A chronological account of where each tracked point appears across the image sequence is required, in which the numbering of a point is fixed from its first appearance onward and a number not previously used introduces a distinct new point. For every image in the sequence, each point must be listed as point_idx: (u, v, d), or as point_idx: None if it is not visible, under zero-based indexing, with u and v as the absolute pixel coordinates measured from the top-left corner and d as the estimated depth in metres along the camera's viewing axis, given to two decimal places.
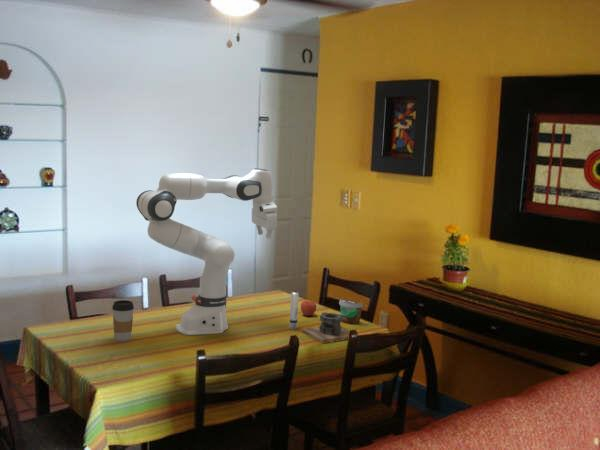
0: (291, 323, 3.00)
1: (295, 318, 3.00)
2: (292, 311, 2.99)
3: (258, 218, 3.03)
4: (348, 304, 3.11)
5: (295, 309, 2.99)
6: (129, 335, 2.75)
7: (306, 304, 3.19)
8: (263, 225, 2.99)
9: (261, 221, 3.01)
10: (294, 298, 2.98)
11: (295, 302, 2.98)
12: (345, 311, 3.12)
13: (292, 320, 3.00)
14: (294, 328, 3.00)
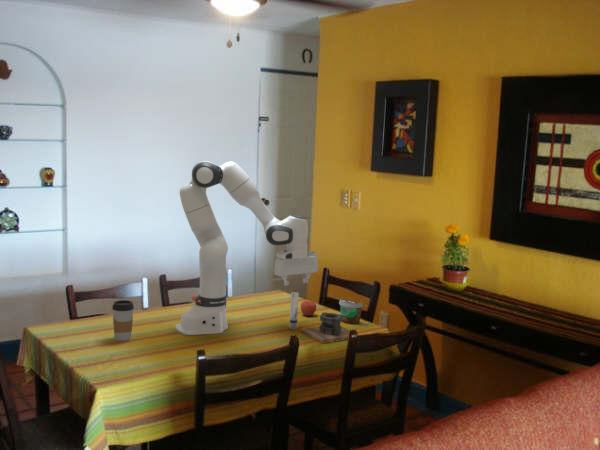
0: (291, 323, 3.00)
1: (295, 318, 3.00)
2: (292, 311, 2.99)
3: None
4: (348, 304, 3.11)
5: (295, 309, 2.99)
6: (129, 335, 2.75)
7: (306, 304, 3.19)
8: None
9: None
10: (294, 298, 2.98)
11: (295, 302, 2.98)
12: (345, 311, 3.13)
13: (292, 320, 3.00)
14: (294, 328, 3.00)
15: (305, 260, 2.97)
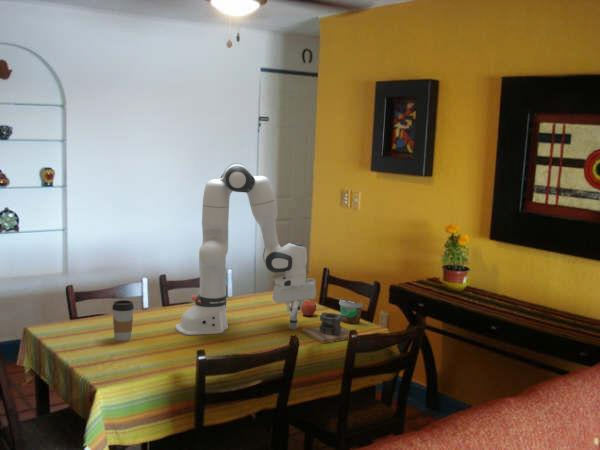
0: (291, 323, 3.00)
1: (295, 318, 3.00)
2: (292, 311, 2.99)
3: None
4: (348, 304, 3.11)
5: (295, 309, 2.99)
6: (129, 335, 2.75)
7: (306, 304, 3.19)
8: None
9: None
10: None
11: (295, 302, 2.98)
12: (345, 311, 3.13)
13: (292, 320, 3.00)
14: (294, 328, 3.00)
15: (303, 287, 2.99)
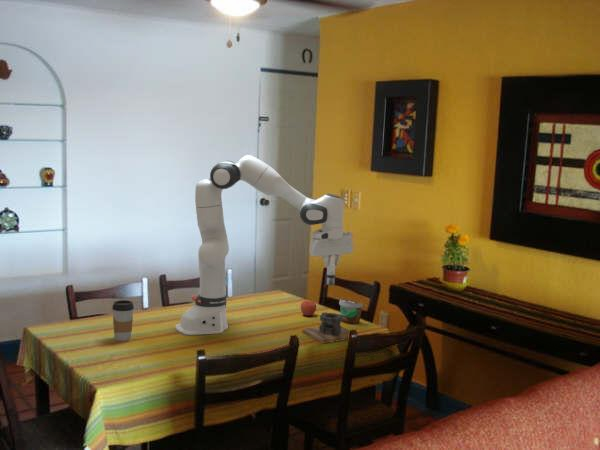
0: (329, 278, 2.91)
1: (332, 273, 2.90)
2: (329, 266, 2.90)
3: None
4: (348, 304, 3.11)
5: (332, 263, 2.90)
6: (129, 335, 2.75)
7: (306, 304, 3.19)
8: None
9: None
10: None
11: (332, 256, 2.89)
12: (345, 311, 3.12)
13: (329, 275, 2.90)
14: (332, 283, 2.91)
15: (340, 240, 2.90)
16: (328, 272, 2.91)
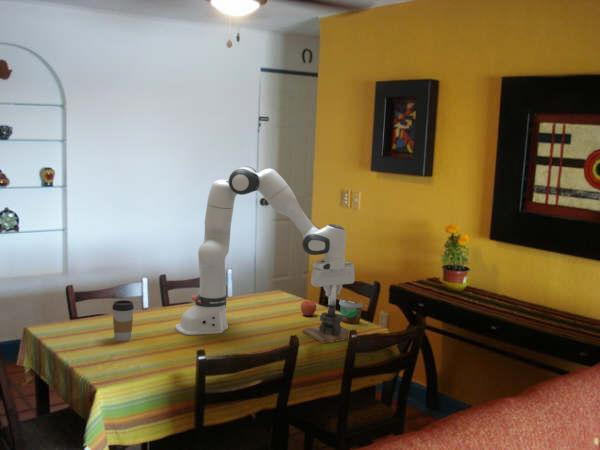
0: (330, 308, 2.92)
1: (334, 303, 2.92)
2: (331, 296, 2.91)
3: None
4: (348, 304, 3.11)
5: (334, 293, 2.91)
6: (129, 335, 2.75)
7: (306, 304, 3.19)
8: None
9: None
10: None
11: (334, 286, 2.90)
12: (345, 311, 3.12)
13: (331, 305, 2.91)
14: (332, 313, 2.92)
15: (342, 271, 2.91)
16: (329, 302, 2.92)
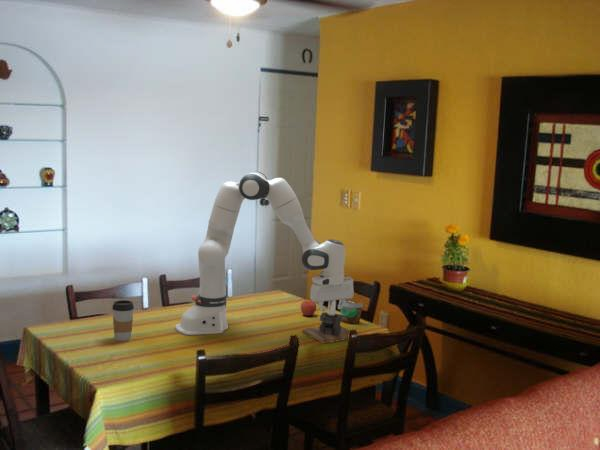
0: (329, 326, 2.93)
1: None
2: (330, 313, 2.92)
3: None
4: (348, 304, 3.11)
5: (333, 311, 2.92)
6: (129, 335, 2.75)
7: (306, 304, 3.19)
8: None
9: None
10: (332, 300, 2.92)
11: (333, 304, 2.92)
12: (345, 311, 3.13)
13: (329, 323, 2.93)
14: None
15: (341, 286, 2.92)
16: None
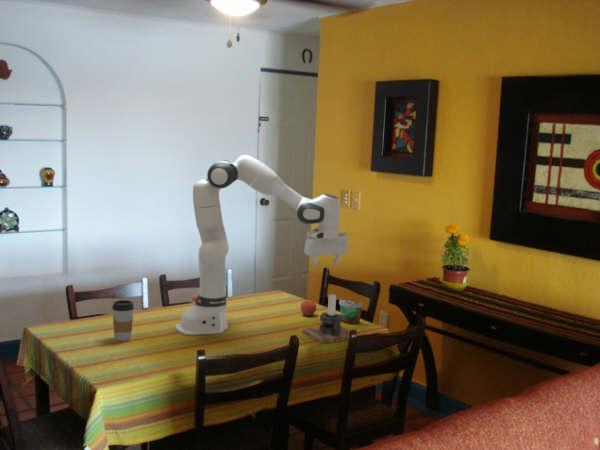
0: (328, 326, 2.93)
1: None
2: (329, 314, 2.92)
3: None
4: (348, 304, 3.11)
5: (332, 312, 2.92)
6: (129, 335, 2.75)
7: (306, 304, 3.19)
8: None
9: None
10: (332, 300, 2.91)
11: (333, 305, 2.91)
12: (345, 311, 3.12)
13: (329, 323, 2.93)
14: None
15: (336, 241, 2.92)
16: None
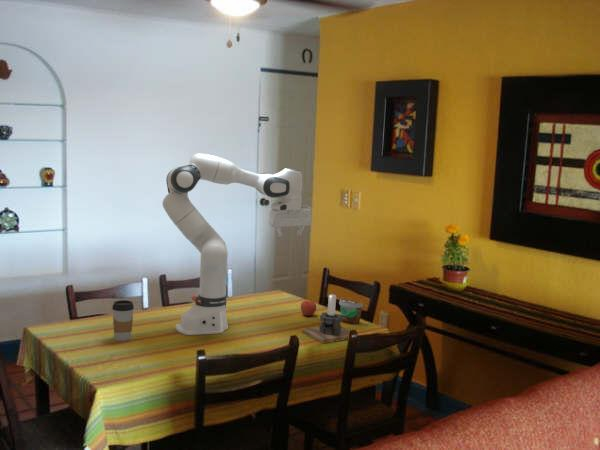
0: (328, 326, 2.93)
1: None
2: (329, 314, 2.92)
3: None
4: (348, 304, 3.11)
5: (332, 312, 2.92)
6: (129, 335, 2.75)
7: (306, 304, 3.19)
8: None
9: None
10: (332, 300, 2.91)
11: (333, 305, 2.92)
12: (345, 311, 3.12)
13: (329, 323, 2.93)
14: None
15: (299, 212, 3.04)
16: None
